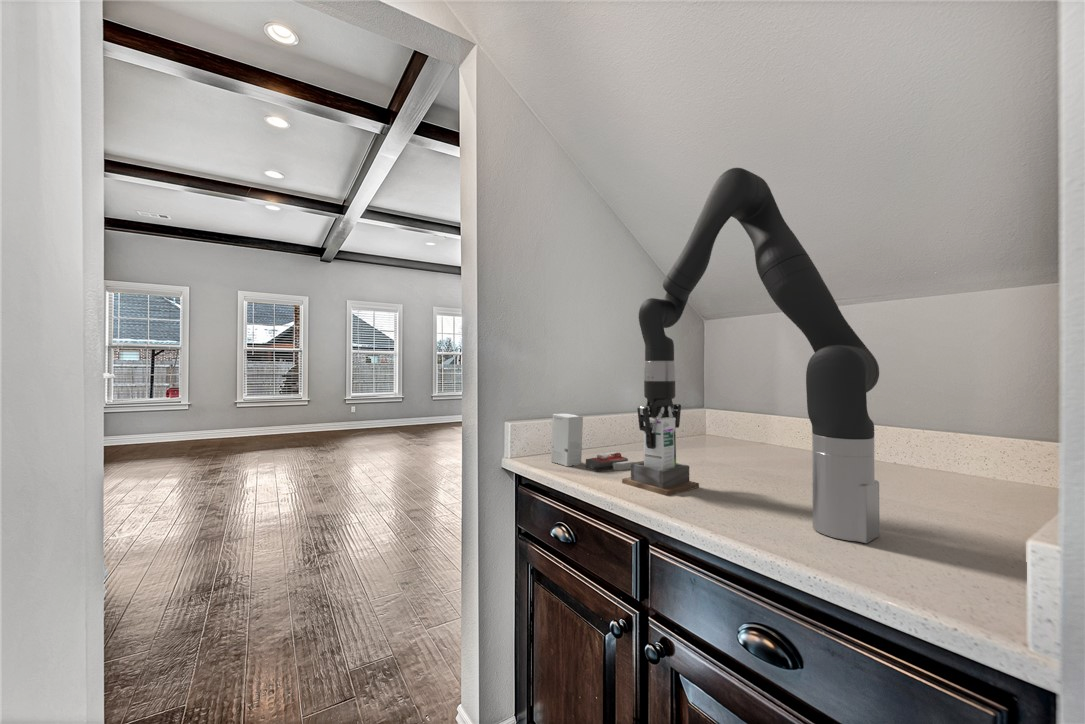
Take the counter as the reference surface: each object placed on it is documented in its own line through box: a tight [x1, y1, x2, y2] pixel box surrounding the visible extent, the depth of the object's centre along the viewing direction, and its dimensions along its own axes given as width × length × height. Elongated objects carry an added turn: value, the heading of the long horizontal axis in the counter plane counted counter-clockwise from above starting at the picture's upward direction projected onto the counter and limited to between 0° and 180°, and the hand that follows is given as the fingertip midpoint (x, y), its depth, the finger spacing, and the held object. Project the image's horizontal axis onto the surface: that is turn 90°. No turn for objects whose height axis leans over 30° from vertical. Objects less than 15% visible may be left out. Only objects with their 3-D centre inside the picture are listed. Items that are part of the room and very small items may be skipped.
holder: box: [621, 461, 700, 496], centre depth 112 cm, size 14×12×5 cm
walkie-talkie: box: [585, 451, 644, 473], centre depth 132 cm, size 9×4×20 cm
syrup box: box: [643, 417, 677, 470], centre depth 112 cm, size 6×6×14 cm
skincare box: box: [550, 413, 584, 467], centre depth 137 cm, size 8×6×15 cm
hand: (660, 446), depth 112 cm, fingers closed on syrup box, 6 cm apart
